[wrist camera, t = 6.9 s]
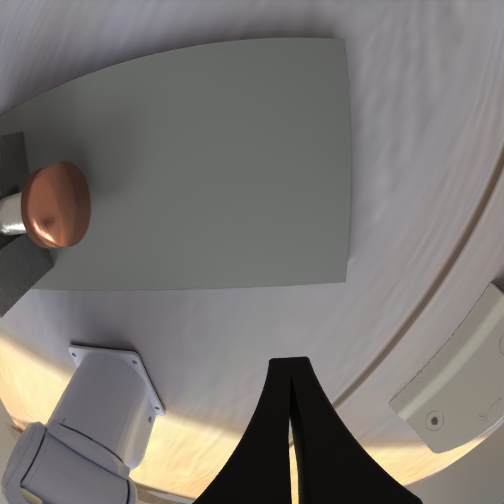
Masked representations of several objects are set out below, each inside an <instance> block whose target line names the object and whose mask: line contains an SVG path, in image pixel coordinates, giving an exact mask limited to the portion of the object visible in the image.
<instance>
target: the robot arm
mask: <svg viewBox="0 0 504 504" xmlns="http://www.w3.org/2000/svg"><path fill="white" fill-rule="evenodd" d="M68 351H69V352H70V354H71V356H72V358H73V360H74V361H75V363H76V365H77V367H78V368H77V370H76V372H75V373H74V375H73V377H72V378H71V380H70V382H69V384H68V385H67V387H66V389H65V391H64V393H63V394H62V396H61V398H60V400H59V402H58V403H57V405H56V407H55V409H54V411H53V413H52V415H51V417H50V418H49V420H48V422H47V424H45V425H43V424H42V423H41V422H39V421H38V422H34V423H30V424H29V425H28V426H27V427H26V429H25V430H24V432H23V433H22V435H21V436H20V438H19V440H18V442H17V443H16V445H15V447H14V449H13V451H12V453H11V456H10V458H9V461H8V463H7V467H6V470H5V472H4V474H3V477H2V481H1V486H2V493H3V495H4V497H5V499H6V501H7V502H8V504H137V503H138V495H137V491H136V486H135V484H134V481H133V480H132V479H131V478H130V477H128V476H129V473H130V471H131V470H133V469H135V468H136V467H137V466H138V465H139V464H140V463H141V461H142V460H143V458H144V455H145V451H146V448H147V444H148V441H149V438H150V434H151V431H152V427H153V424H154V421H155V417H156V415H159V416H163V415H165V410H164V408H163V406H162V404H161V402H160V400H159V398H158V396H157V394H156V392H155V390H154V388H153V386H152V384H151V382H150V380H149V377H148V375H147V373H146V371H145V369H144V366H143V364H142V362H141V360H140V357H139V355H138V354H137V353H136V352H133V351H121V350H111V349H101V348H93V347H85V346H77V345H69V346H68ZM289 420H290V421H291V427H292V434H293V441H294V448H295V454H296V461H297V470H298V495H299V504H423V503H422V501H421V499H420V498H418V497H417V496H416V495H414V494H412V493H411V492H410V491H409V490H407V489H406V488H405V487H403V486H402V485H401V484H399V483H398V482H397V481H396V480H395V479H394V478H392V477H391V476H390V475H389V474H388V473H387V472H386V471H385V470H384V469H383V468H382V467H381V466H380V465H379V464H378V463H377V462H376V461H375V460H374V459H373V458H372V457H371V456H370V455H369V454H368V453H367V452H366V451H365V450H364V449H363V448H362V446H361V445H360V444H359V443H358V442H357V440H356V439H355V438H354V437H353V436H352V434H351V433H350V432H349V430H348V429H347V428H346V426H345V425H344V423H343V422H342V420H341V419H340V417H339V416H338V414H337V413H336V411H335V410H334V408H333V407H332V405H331V403H330V402H329V400H328V398H327V396H326V395H325V393H324V391H323V389H322V387H321V385H320V383H319V381H318V379H317V377H316V375H315V373H314V370H313V368H312V365H311V363H310V360H309V358H308V357H290V358H272V359H271V360H269V367H268V373H267V377H266V381H265V384H264V388H263V391H262V394H261V396H260V399H259V402H258V405H257V407H256V410H255V412H254V414H253V416H252V418H251V421H250V423H249V425H248V427H247V429H246V431H245V433H244V435H243V437H242V438H241V440H240V442H239V444H238V445H237V447H236V449H235V450H234V452H233V453H232V455H231V456H230V458H229V459H228V461H227V462H226V464H225V465H224V467H223V468H222V470H221V471H220V472H219V474H218V475H217V476H216V477H215V479H214V480H213V481H212V482H211V483H210V485H209V486H208V487H207V488H206V489H205V491H204V492H203V493H202V494H201V495H200V496H199V497H198V498H197V499H196V500H195V501H194V502H193V503H192V504H292V497H291V478H290V458H289V439H288V436H289ZM503 504H504V503H503Z"/></svg>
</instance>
